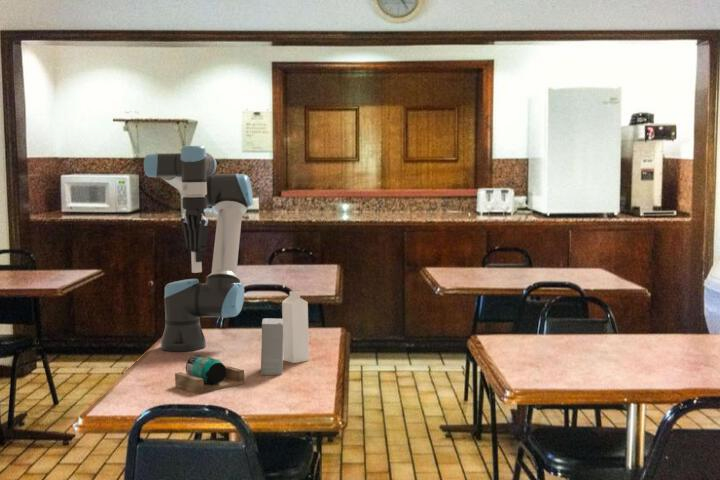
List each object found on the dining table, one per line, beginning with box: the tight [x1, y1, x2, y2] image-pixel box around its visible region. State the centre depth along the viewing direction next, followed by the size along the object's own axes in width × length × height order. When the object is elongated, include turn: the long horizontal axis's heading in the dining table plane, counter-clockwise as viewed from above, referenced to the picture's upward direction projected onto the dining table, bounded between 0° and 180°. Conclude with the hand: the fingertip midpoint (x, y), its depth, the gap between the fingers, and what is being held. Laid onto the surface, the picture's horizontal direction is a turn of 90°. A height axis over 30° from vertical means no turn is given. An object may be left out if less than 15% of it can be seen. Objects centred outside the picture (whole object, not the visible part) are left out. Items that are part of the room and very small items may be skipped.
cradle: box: [174, 364, 246, 394], centre depth 247 cm, size 12×16×4 cm
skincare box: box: [260, 317, 284, 376], centre depth 262 cm, size 8×7×16 cm
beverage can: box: [185, 354, 226, 384], centre depth 248 cm, size 7×7×12 cm
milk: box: [281, 290, 310, 364], centre depth 277 cm, size 6×6×22 cm
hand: (196, 272), depth 270 cm, fingers closed
